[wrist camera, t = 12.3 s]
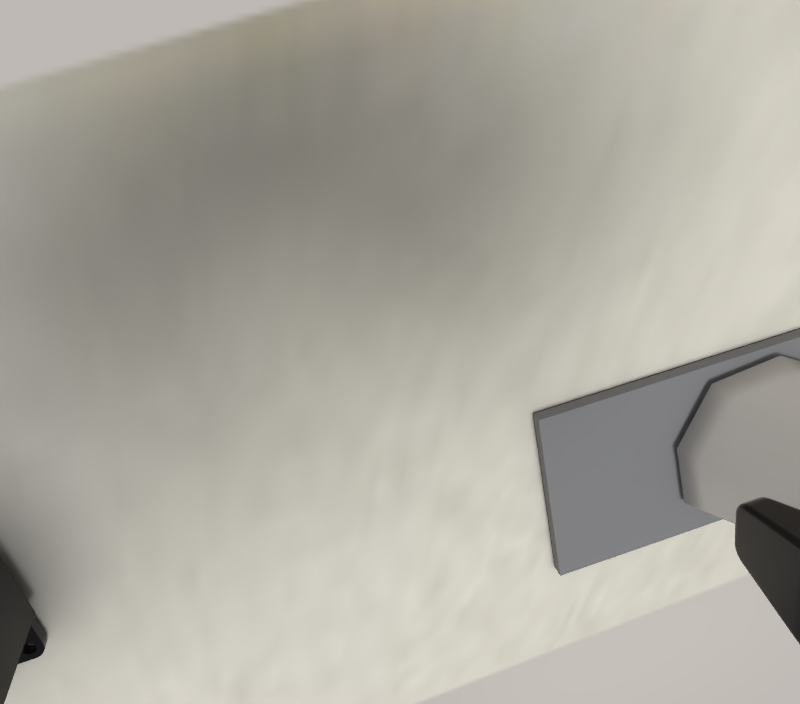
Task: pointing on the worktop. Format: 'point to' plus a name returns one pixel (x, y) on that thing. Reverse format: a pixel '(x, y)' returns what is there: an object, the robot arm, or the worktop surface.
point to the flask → (745, 441)
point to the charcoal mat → (630, 457)
